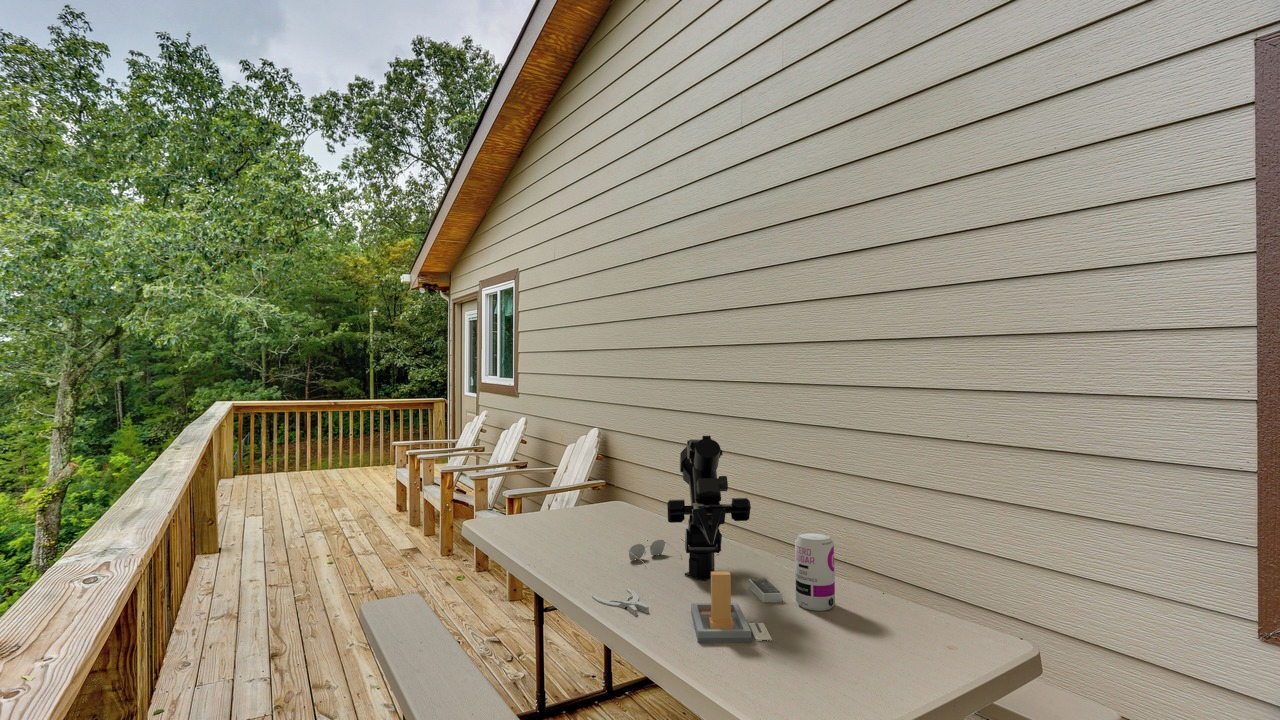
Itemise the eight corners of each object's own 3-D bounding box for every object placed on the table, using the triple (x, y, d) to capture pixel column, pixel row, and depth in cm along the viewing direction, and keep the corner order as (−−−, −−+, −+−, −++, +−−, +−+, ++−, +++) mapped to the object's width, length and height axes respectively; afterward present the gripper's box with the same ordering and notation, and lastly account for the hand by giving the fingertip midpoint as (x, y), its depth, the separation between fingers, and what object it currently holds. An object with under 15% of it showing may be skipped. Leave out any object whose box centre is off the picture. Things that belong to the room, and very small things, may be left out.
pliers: (628, 584, 144) (661, 604, 131) (629, 591, 144) (662, 611, 131) (590, 591, 139) (621, 612, 126) (590, 598, 139) (621, 620, 126)
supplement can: (837, 601, 136) (835, 533, 136) (832, 614, 128) (830, 542, 129) (800, 596, 139) (798, 530, 140) (793, 608, 131) (791, 538, 132)
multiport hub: (763, 604, 135) (763, 593, 135) (748, 588, 146) (748, 578, 146) (782, 603, 136) (782, 593, 136) (766, 587, 147) (766, 577, 147)
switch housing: (691, 612, 129) (691, 603, 129) (757, 612, 129) (756, 602, 129) (698, 642, 114) (697, 631, 114) (772, 641, 114) (772, 631, 114)
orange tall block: (708, 623, 121) (708, 570, 121) (731, 623, 121) (730, 570, 121) (710, 629, 118) (710, 575, 118) (733, 629, 118) (732, 575, 118)
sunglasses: (664, 554, 176) (666, 538, 176) (683, 566, 169) (685, 548, 169) (626, 563, 167) (627, 545, 167) (644, 575, 161) (646, 557, 160)
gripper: (666, 464, 140) (668, 524, 128) (747, 462, 139) (757, 522, 128) (666, 492, 147) (669, 551, 136) (744, 490, 147) (753, 549, 135)
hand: (711, 543), depth 133 cm, fingers closed
